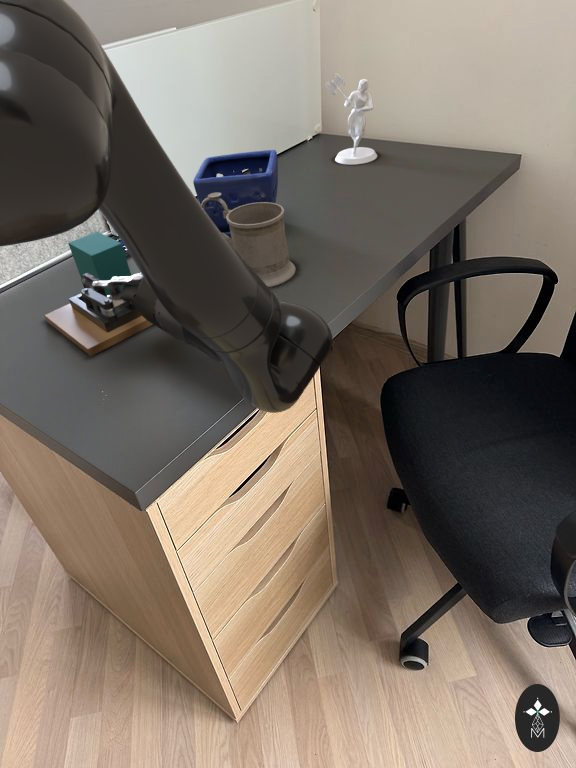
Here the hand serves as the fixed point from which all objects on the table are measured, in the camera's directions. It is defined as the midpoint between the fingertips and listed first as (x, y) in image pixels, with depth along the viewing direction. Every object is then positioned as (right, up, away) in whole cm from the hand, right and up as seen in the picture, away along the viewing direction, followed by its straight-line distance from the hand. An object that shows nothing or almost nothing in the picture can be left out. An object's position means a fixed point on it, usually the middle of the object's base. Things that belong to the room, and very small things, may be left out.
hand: (115, 267), depth 75 cm
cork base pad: (-2, -5, +9) cm, 10 cm away
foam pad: (-2, -4, +8) cm, 9 cm away
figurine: (+38, +36, +54) cm, 75 cm away
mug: (+17, +2, +15) cm, 23 cm away
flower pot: (+15, +12, +28) cm, 34 cm away
